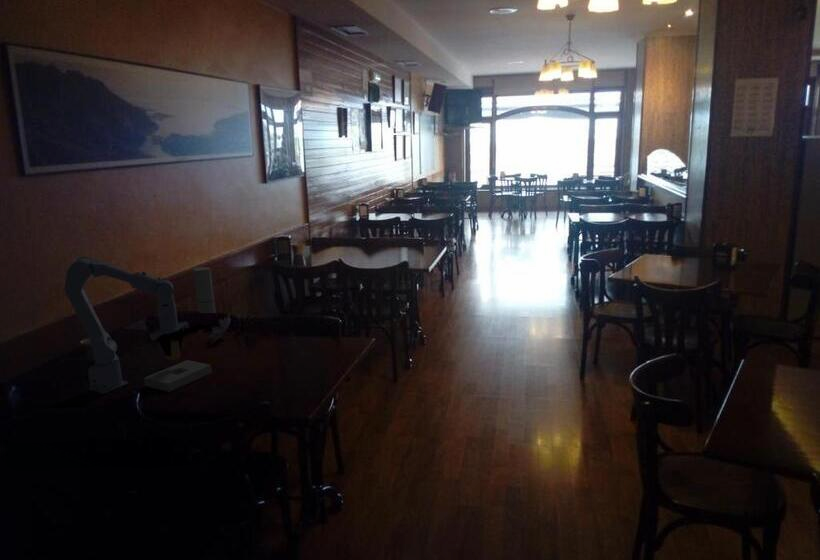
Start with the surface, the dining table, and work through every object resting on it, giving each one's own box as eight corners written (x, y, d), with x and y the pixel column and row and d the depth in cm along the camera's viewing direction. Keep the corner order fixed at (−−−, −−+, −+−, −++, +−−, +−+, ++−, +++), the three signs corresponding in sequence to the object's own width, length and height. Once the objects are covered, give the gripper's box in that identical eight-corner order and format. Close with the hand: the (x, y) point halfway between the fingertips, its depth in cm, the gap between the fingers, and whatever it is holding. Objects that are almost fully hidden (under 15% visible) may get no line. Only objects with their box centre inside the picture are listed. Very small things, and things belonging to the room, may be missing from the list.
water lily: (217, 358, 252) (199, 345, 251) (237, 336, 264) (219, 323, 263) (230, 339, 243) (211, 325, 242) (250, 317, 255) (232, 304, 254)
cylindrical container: (218, 321, 280) (212, 266, 274) (214, 325, 273) (207, 270, 267) (202, 321, 280) (195, 267, 274) (198, 326, 273) (190, 271, 267)
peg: (172, 360, 212) (170, 343, 210) (165, 358, 214) (163, 342, 212) (180, 357, 215) (178, 340, 213) (174, 355, 217) (171, 339, 215)
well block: (169, 392, 202) (168, 383, 201) (145, 386, 208) (144, 377, 207) (212, 372, 217) (211, 364, 217) (188, 367, 223) (187, 359, 223)
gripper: (157, 322, 202) (163, 362, 206) (192, 310, 215) (197, 348, 218) (143, 320, 206) (149, 359, 209) (178, 308, 218) (183, 345, 221)
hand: (173, 353), depth 214 cm, fingers closed on peg, 3 cm apart
